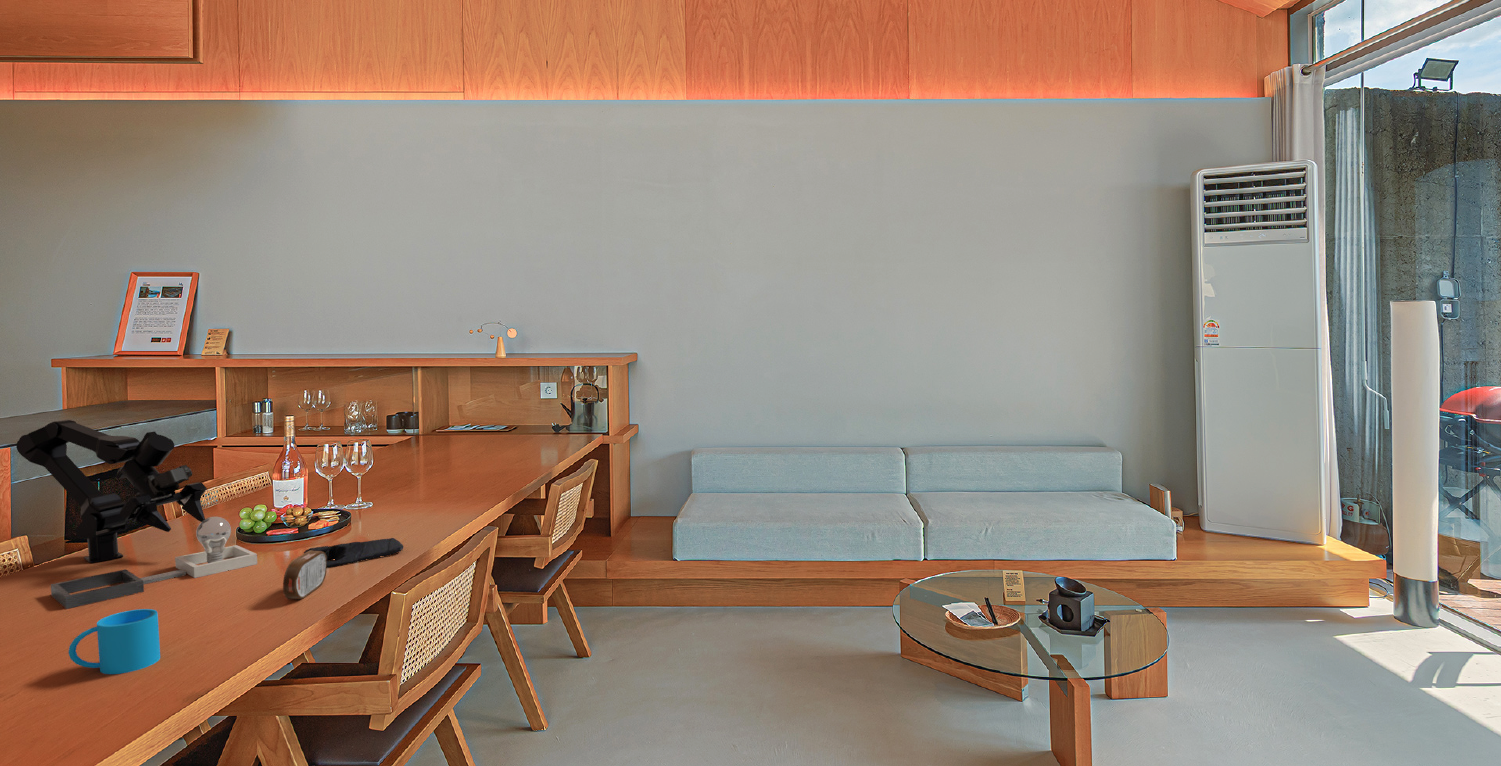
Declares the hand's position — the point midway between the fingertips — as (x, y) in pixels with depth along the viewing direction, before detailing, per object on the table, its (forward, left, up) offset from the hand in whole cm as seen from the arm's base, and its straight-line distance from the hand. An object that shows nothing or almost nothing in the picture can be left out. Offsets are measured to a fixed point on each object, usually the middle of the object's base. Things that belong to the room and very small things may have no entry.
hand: (187, 525), depth 190 cm
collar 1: (+9, -19, -9) cm, 24 cm away
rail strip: (+8, -8, -9) cm, 15 cm away
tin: (+45, +9, -10) cm, 47 cm away
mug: (+58, -27, -10) cm, 65 cm away
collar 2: (+7, +4, -9) cm, 12 cm away
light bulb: (+7, +3, -10) cm, 12 cm away
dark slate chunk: (+26, +28, -10) cm, 39 cm away
